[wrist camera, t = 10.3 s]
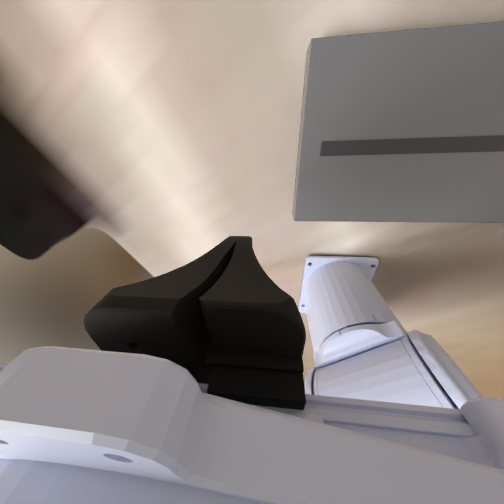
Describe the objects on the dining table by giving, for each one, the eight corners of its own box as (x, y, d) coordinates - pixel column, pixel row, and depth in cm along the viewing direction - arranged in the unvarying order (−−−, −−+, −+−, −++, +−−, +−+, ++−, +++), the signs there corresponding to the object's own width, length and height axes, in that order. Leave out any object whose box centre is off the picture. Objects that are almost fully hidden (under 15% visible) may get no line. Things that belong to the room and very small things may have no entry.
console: (582, 214, 17) (619, 223, 15) (292, 213, 19) (294, 221, 18) (774, 13, 10) (875, -13, 9) (306, 51, 13) (311, 38, 11)
